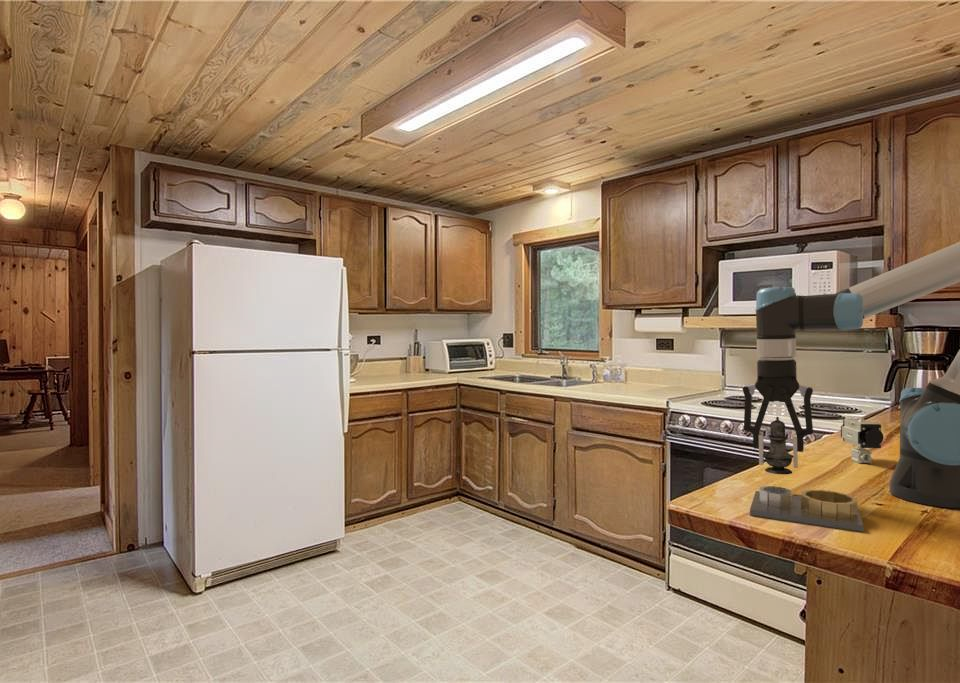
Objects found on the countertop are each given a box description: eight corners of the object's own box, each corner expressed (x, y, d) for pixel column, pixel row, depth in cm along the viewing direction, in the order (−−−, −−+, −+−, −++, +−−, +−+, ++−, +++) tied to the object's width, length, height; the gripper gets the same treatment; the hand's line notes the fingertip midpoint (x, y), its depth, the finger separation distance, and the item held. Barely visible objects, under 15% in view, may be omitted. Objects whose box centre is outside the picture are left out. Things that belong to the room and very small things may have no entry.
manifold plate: (857, 509, 111) (857, 491, 111) (863, 532, 99) (863, 511, 98) (755, 496, 120) (755, 479, 120) (749, 515, 108) (750, 496, 108)
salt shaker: (777, 475, 118) (776, 419, 118) (757, 469, 124) (756, 415, 124) (800, 473, 120) (799, 417, 120) (778, 467, 125) (778, 413, 125)
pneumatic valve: (857, 457, 155) (858, 414, 155) (884, 467, 143) (884, 421, 143) (836, 456, 155) (837, 413, 155) (861, 467, 144) (861, 420, 144)
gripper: (826, 357, 120) (828, 465, 120) (731, 358, 130) (733, 457, 130) (827, 359, 114) (830, 473, 114) (727, 359, 123) (729, 464, 123)
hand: (778, 464), depth 122 cm, fingers closed on salt shaker, 6 cm apart
